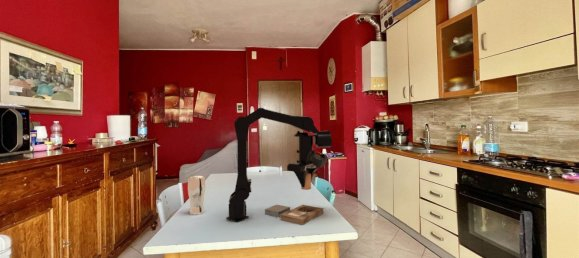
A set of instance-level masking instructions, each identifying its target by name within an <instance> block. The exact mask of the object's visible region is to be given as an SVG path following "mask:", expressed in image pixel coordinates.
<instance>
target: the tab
mask: <svg viewBox="0 0 579 258" xmlns="http://www.w3.org/2000/svg"><path fill="white" fill-rule="evenodd" d="M290 210H291V207H290V206H285V205H283V204H281V205H280V204H275V205H273V206H269V207H266V208H265V209H264V215H268V216H272V217H276V218H279V217H280V215H281V214H283V213H285V212H287V211H290Z"/></svg>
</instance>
